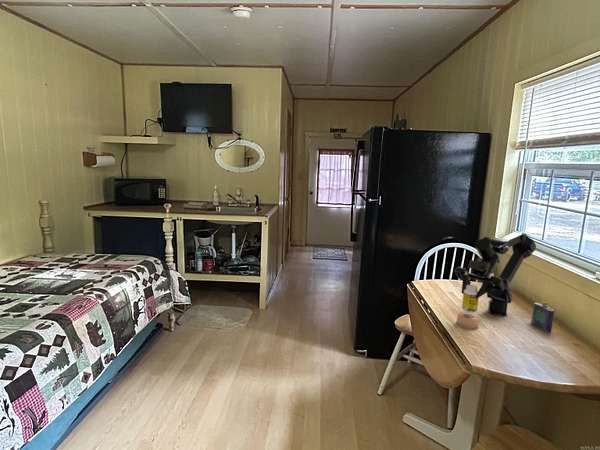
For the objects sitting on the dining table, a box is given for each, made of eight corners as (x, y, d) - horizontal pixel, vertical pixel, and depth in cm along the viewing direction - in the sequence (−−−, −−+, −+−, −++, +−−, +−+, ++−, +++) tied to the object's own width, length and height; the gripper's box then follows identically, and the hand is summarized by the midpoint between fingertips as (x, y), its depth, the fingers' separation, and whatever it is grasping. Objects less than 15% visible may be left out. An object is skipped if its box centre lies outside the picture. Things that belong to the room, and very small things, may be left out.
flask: (529, 322, 151) (533, 298, 149) (535, 322, 151) (539, 298, 149) (547, 332, 142) (551, 306, 140) (553, 332, 142) (558, 306, 140)
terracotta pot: (476, 322, 149) (477, 313, 148) (479, 331, 141) (481, 321, 140) (455, 319, 151) (456, 310, 150) (457, 327, 143) (458, 318, 143)
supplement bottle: (467, 313, 142) (470, 288, 140) (458, 308, 147) (461, 284, 145) (480, 312, 143) (482, 288, 141) (471, 307, 148) (473, 283, 146)
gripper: (458, 248, 151) (441, 277, 146) (505, 258, 136) (486, 291, 131) (467, 263, 156) (450, 292, 152) (512, 274, 141) (495, 307, 137)
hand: (469, 295), depth 143 cm, fingers closed on supplement bottle, 5 cm apart
